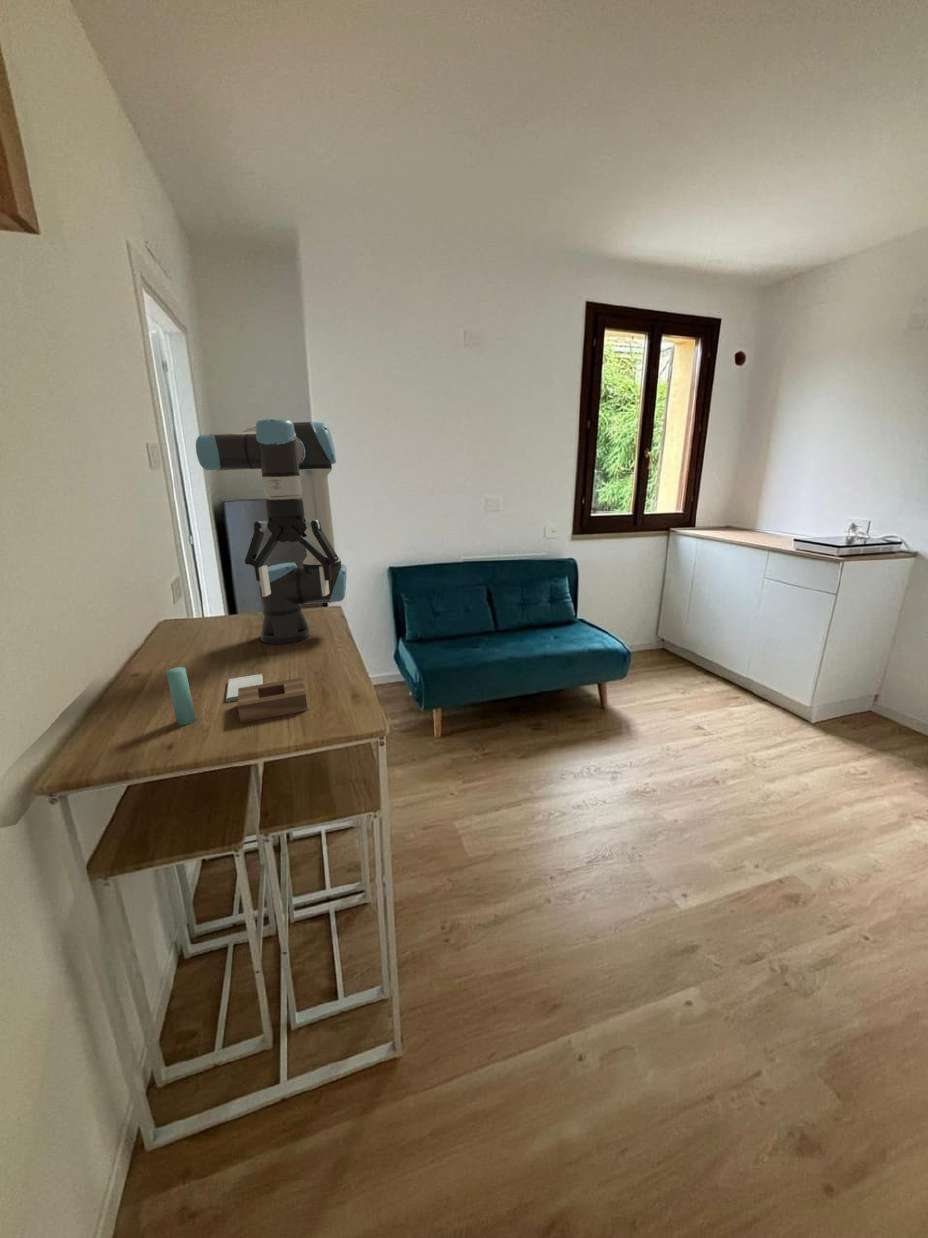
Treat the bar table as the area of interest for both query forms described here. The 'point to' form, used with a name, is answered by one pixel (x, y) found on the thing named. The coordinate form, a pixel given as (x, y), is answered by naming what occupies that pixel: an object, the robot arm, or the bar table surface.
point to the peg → (181, 695)
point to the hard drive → (241, 685)
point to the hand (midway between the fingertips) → (296, 595)
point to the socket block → (271, 700)
